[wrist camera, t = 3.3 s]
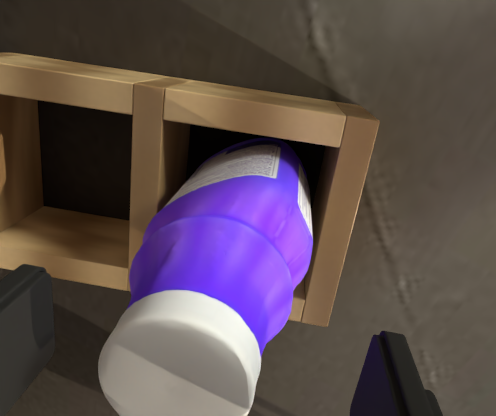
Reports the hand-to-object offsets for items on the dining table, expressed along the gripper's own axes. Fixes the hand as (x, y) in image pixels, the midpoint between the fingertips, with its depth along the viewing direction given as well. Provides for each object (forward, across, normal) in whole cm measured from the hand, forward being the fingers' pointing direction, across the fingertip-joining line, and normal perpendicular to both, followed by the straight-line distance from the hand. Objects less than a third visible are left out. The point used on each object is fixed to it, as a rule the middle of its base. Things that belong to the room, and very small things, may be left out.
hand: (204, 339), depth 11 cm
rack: (+16, +5, 0) cm, 17 cm away
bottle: (+16, 0, 0) cm, 16 cm away
